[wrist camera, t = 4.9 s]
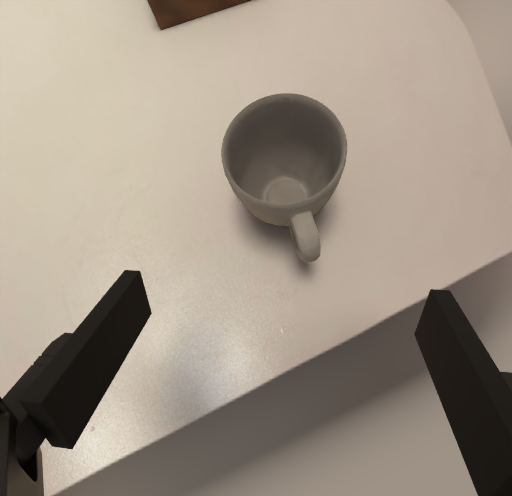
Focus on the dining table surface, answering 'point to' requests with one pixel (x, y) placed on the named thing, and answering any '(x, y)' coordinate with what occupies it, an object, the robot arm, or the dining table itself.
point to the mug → (286, 163)
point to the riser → (186, 9)
